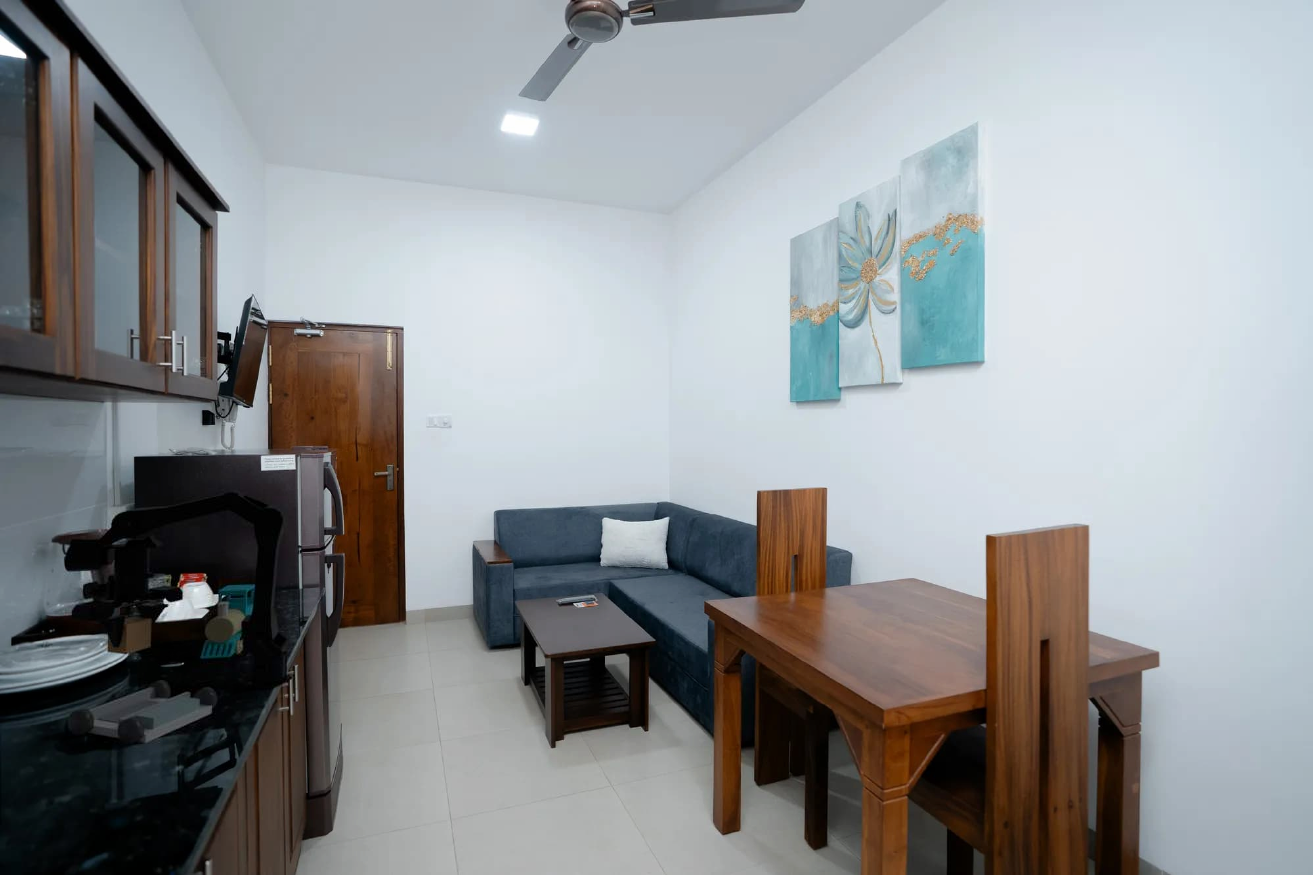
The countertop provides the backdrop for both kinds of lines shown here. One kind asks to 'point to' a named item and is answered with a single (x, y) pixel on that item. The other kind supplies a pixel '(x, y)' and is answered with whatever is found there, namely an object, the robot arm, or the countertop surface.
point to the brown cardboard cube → (133, 636)
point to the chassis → (143, 714)
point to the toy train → (228, 622)
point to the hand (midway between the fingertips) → (129, 643)
